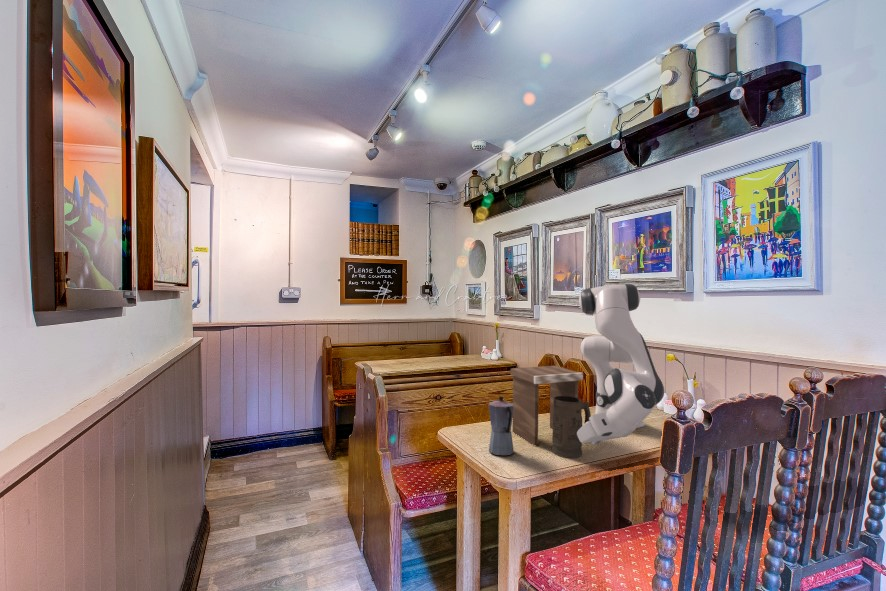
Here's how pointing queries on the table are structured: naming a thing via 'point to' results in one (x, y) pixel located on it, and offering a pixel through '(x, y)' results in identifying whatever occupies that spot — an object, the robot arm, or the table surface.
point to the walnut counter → (528, 395)
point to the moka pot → (501, 427)
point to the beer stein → (568, 425)
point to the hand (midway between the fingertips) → (594, 442)
